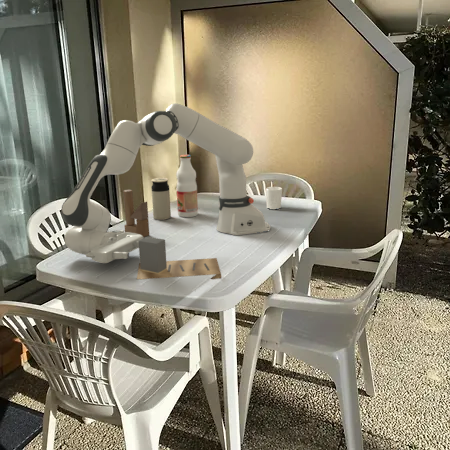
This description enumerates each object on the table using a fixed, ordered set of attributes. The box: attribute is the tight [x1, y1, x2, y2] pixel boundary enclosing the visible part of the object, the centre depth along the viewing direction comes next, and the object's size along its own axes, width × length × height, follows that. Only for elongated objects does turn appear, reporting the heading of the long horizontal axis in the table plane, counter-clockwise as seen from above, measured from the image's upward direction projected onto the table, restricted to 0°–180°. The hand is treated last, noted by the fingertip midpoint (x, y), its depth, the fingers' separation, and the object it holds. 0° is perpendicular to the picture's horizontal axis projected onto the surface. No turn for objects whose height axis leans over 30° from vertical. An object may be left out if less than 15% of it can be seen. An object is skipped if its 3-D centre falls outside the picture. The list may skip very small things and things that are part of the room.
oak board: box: [136, 257, 222, 280], centre depth 149 cm, size 26×14×2 cm, turn 97°
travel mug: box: [151, 177, 172, 221], centre depth 210 cm, size 8×8×18 cm
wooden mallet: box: [123, 189, 150, 238], centre depth 187 cm, size 4×11×18 cm, turn 56°
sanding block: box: [138, 236, 167, 274], centre depth 147 cm, size 7×4×10 cm, turn 62°
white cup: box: [265, 186, 283, 209], centre depth 224 cm, size 8×8×10 cm
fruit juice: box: [175, 154, 199, 218], centre depth 213 cm, size 9×9×28 cm
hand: (137, 251), depth 150 cm, fingers open, 8 cm apart
